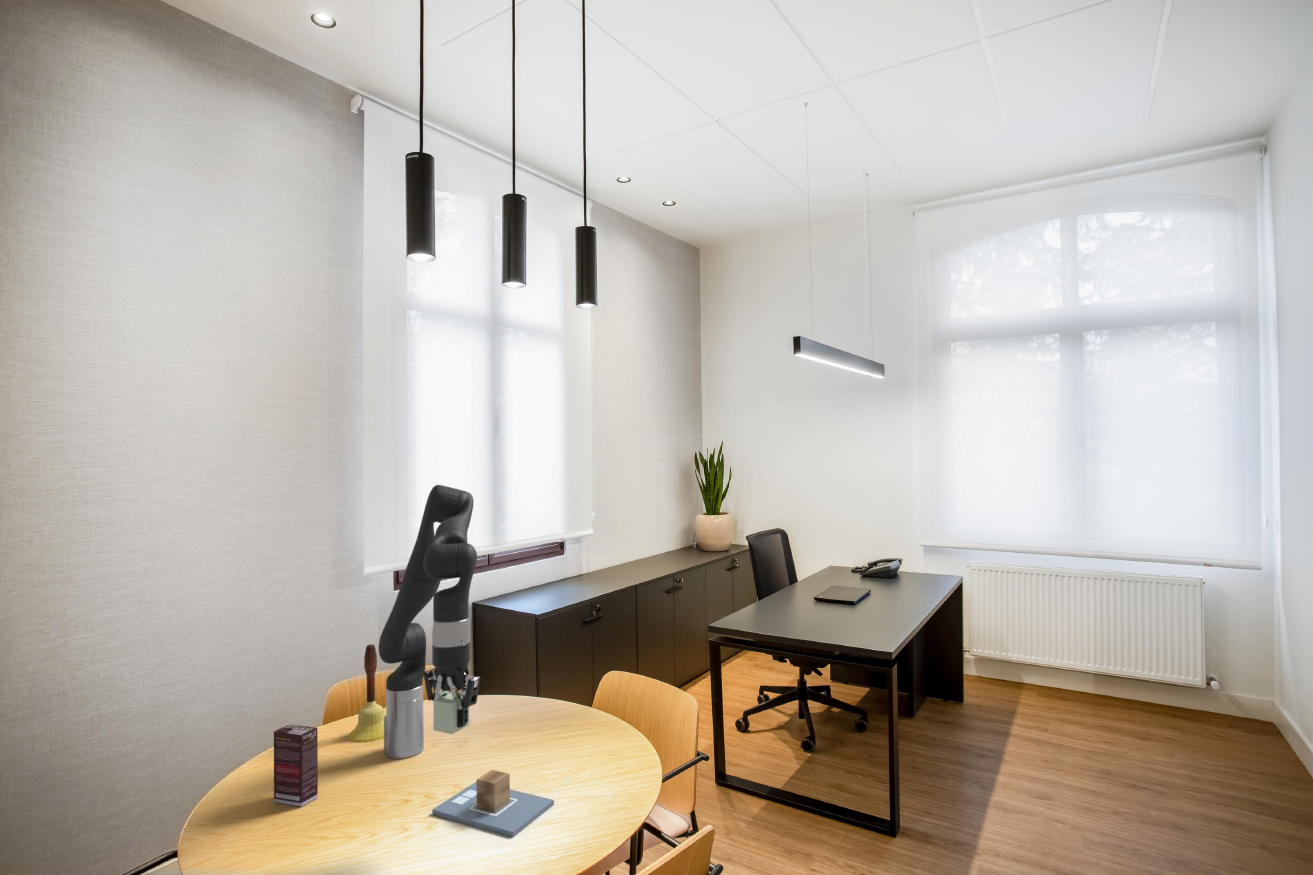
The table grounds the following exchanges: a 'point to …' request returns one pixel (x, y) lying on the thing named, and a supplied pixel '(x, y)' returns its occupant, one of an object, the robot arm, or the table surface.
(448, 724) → the sage block
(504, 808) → the board
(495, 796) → the walnut block
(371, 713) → the handbell
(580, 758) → the table surface
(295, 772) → the supplement box
